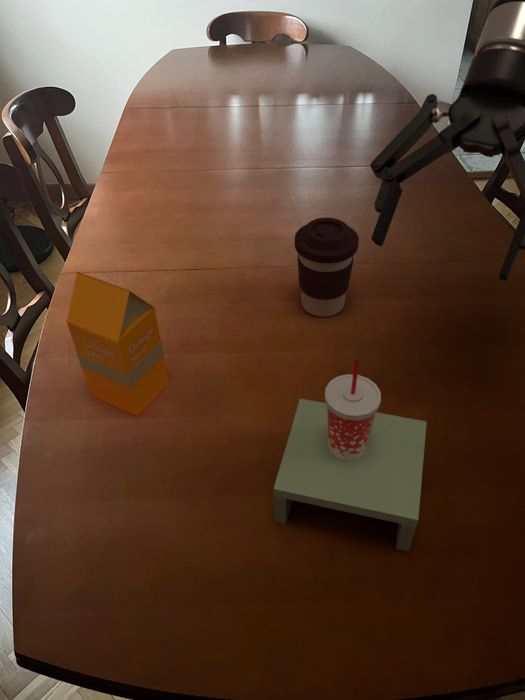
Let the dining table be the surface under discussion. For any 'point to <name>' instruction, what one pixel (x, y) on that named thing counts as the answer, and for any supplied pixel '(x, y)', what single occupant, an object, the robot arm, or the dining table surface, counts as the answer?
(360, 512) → the shelf
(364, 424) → the beverage cup
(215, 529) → the dining table surface
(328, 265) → the coffee cup
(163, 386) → the orange juice
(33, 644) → the dining table surface
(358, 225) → the dining table surface
